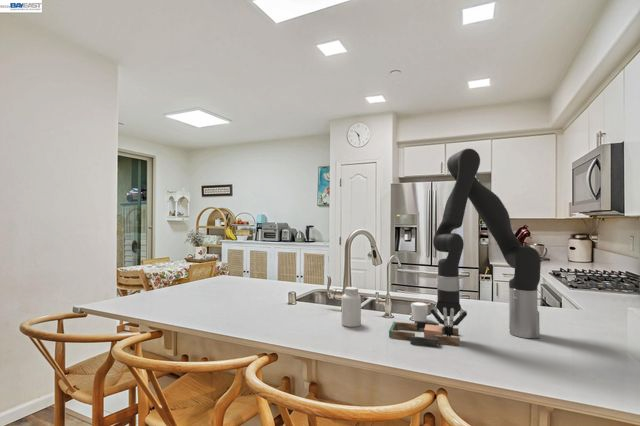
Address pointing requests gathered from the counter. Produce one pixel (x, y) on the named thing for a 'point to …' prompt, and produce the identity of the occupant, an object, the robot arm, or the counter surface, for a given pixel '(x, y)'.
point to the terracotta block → (432, 331)
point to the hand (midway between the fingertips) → (448, 336)
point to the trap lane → (422, 340)
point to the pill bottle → (351, 307)
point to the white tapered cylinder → (419, 311)
